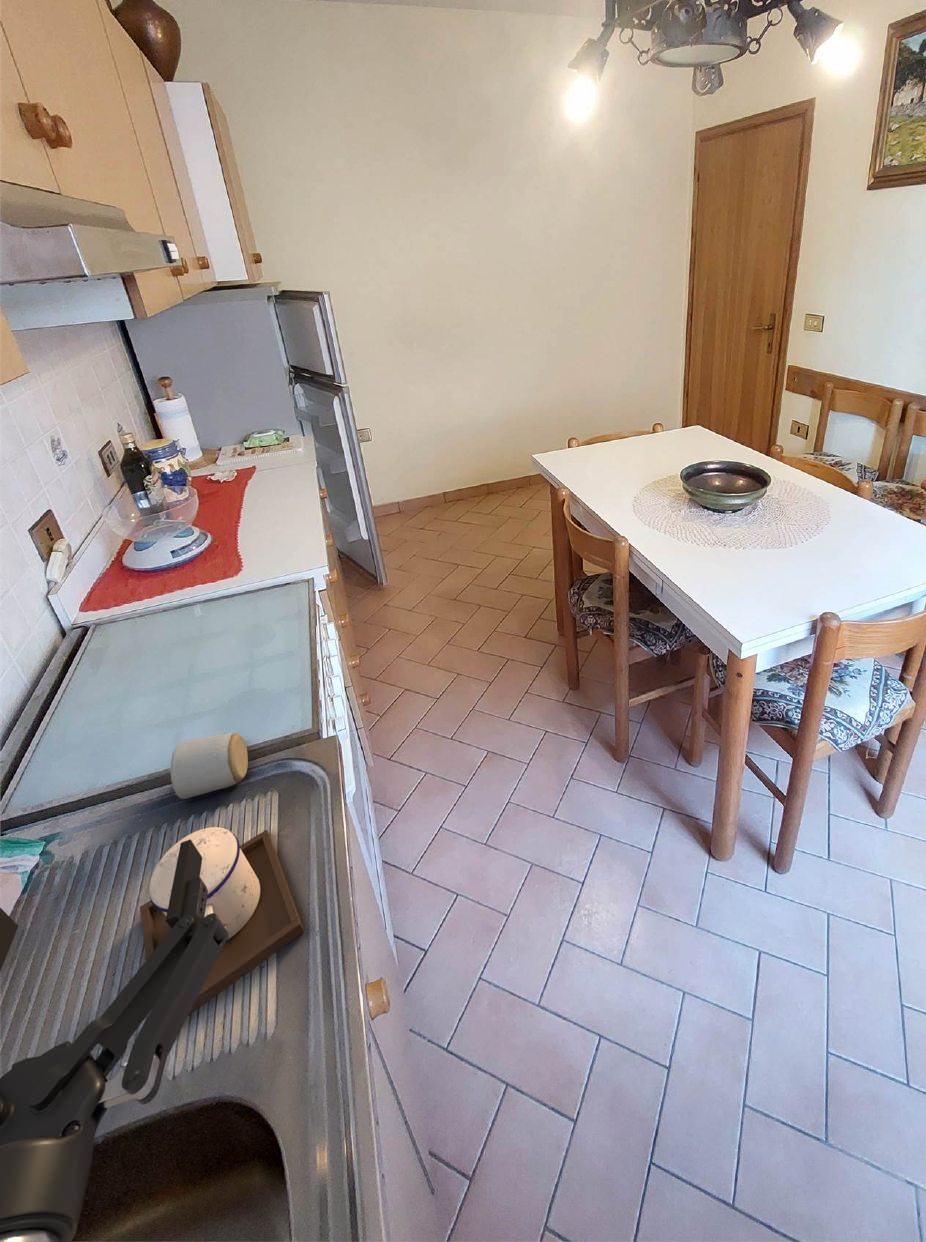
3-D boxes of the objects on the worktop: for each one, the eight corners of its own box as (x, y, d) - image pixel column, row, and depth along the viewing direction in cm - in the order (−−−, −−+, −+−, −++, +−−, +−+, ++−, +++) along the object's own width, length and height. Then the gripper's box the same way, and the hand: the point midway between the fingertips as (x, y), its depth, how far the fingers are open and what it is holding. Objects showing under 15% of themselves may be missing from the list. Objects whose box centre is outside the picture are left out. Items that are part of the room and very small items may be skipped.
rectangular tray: (146, 915, 70) (139, 907, 69) (271, 837, 77) (266, 829, 76) (161, 1035, 59) (154, 1027, 59) (304, 932, 67) (300, 923, 66)
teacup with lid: (176, 900, 70) (135, 843, 65) (255, 854, 75) (223, 797, 69) (186, 998, 62) (139, 941, 56) (275, 940, 66) (240, 882, 60)
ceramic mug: (246, 792, 83) (228, 756, 80) (184, 811, 82) (162, 775, 78) (256, 736, 93) (240, 701, 89) (200, 752, 91) (181, 717, 87)
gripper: (-274, 1442, 29) (-55, 974, 47) (261, 1167, 36) (275, 849, 53) (-408, 1425, 25) (-115, 925, 43) (216, 1122, 32) (247, 798, 50)
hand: (101, 882), depth 48 cm, fingers open, 13 cm apart
